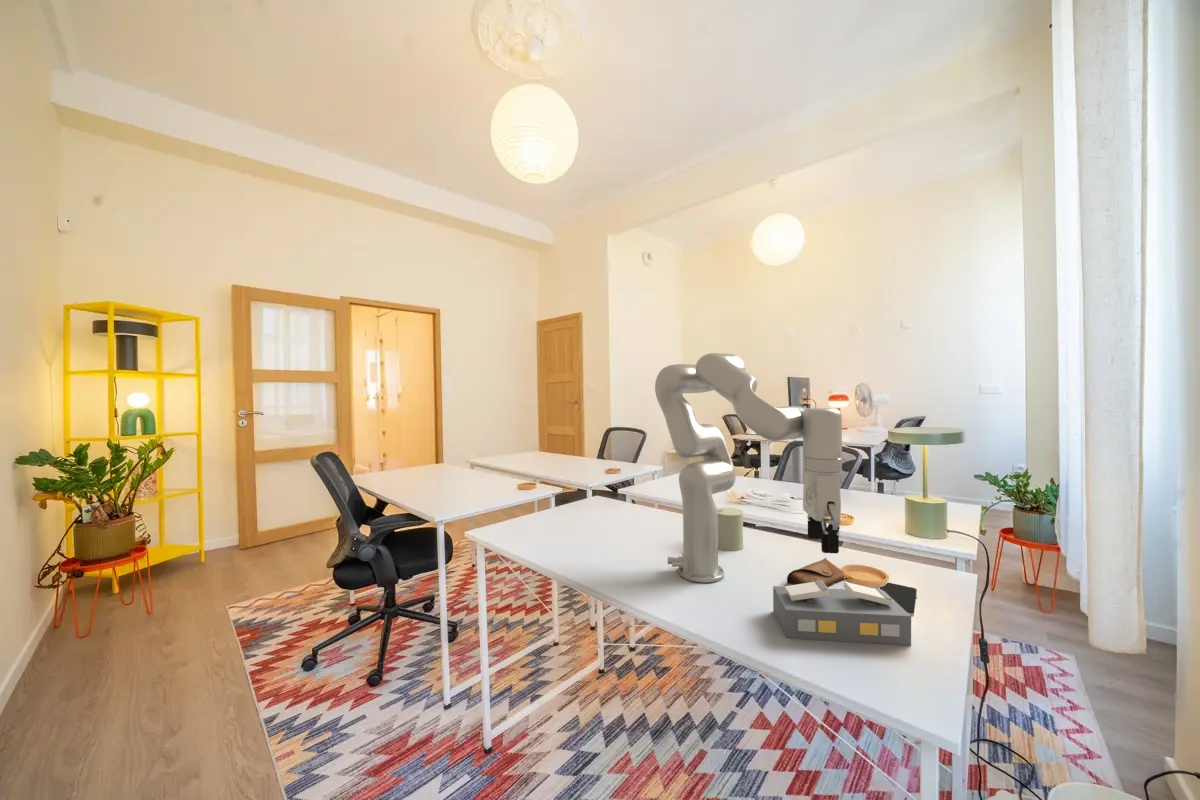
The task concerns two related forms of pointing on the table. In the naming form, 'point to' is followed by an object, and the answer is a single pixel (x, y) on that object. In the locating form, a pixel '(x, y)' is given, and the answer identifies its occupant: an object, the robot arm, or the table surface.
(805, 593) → the rocker
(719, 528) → the can
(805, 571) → the sunglasses case
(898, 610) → the console
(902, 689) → the table surface
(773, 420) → the robot arm
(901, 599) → the smartphone
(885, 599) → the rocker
